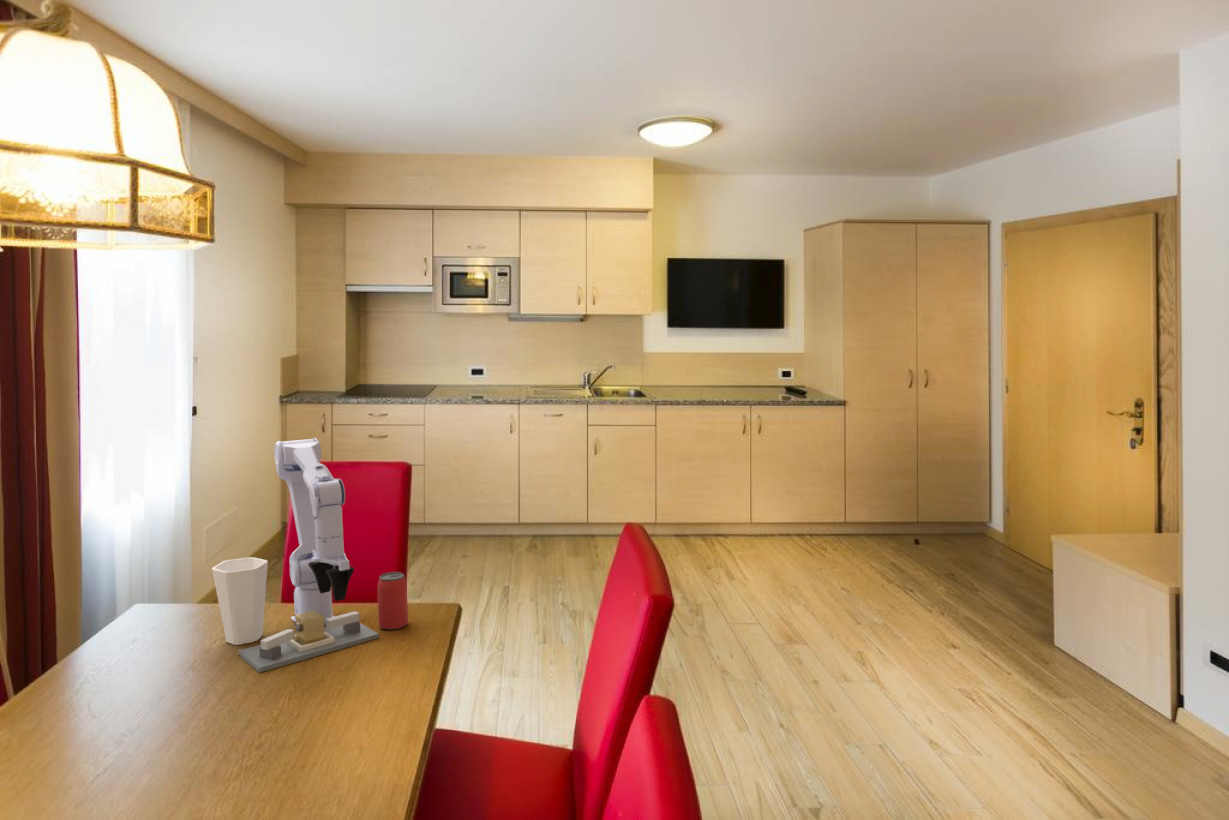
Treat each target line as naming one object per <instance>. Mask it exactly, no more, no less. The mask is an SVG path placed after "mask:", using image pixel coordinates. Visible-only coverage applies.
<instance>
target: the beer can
mask: <svg viewBox="0 0 1229 820" xmlns="http://www.w3.org/2000/svg"><path fill="white" fill-rule="evenodd" d="M377 608H378V609H377V612H378V626H379V627H380V628H381V629H383V630H385V629H386V631H394V630H395V629H396V630H399V629H402V628H404V626H405V627H406V626H407V625H408V624H409V615H408V614H409V611H408V609H409V607H408V583H407V580H406V577H405V574H404V573H402V572H399V571H392V572H385V573H383V574H381V575H380V576H379V579H378V583H377Z"/></svg>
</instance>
